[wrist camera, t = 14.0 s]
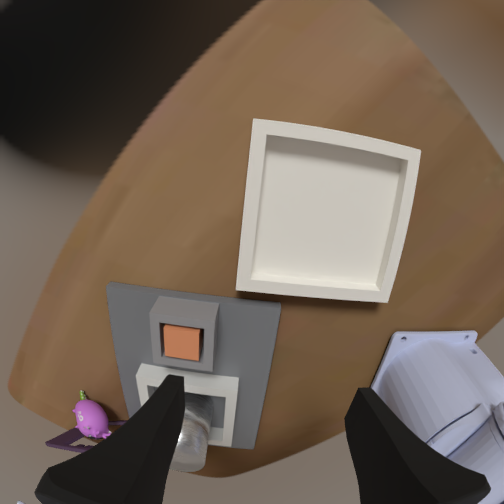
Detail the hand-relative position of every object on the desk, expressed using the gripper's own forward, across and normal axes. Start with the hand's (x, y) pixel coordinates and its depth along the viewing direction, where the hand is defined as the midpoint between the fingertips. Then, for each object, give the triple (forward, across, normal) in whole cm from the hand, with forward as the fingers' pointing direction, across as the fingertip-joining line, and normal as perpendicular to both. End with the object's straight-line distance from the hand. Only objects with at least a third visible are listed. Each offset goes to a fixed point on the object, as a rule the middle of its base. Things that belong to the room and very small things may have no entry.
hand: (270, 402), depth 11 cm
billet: (+9, +5, +10) cm, 14 cm away
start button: (+8, +5, +2) cm, 10 cm away
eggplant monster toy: (+9, +14, +15) cm, 23 cm away
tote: (+9, -3, -6) cm, 12 cm away
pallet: (+9, +5, +8) cm, 14 cm away
